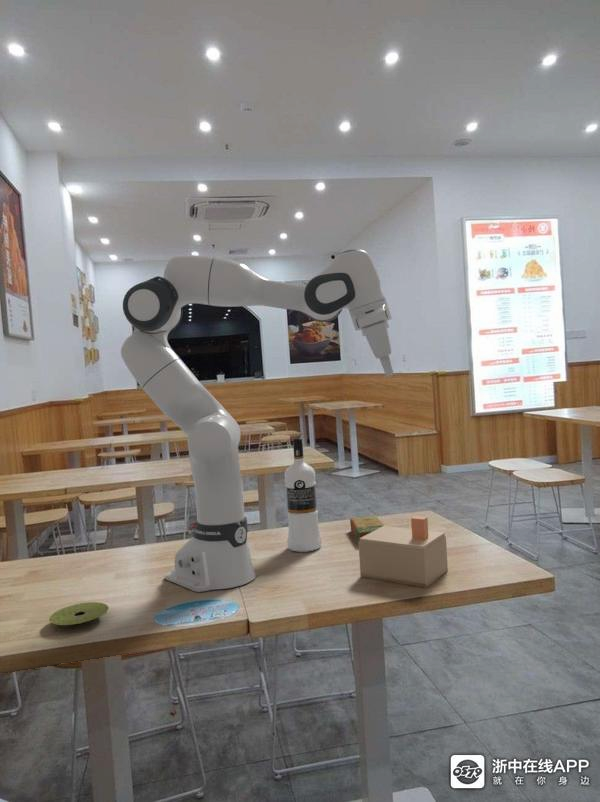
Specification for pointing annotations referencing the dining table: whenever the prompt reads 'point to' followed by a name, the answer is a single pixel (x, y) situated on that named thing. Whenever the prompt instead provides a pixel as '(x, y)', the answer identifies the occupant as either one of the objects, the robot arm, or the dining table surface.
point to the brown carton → (403, 563)
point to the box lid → (405, 535)
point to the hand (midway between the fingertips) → (389, 374)
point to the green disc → (78, 613)
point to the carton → (364, 526)
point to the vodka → (301, 503)
